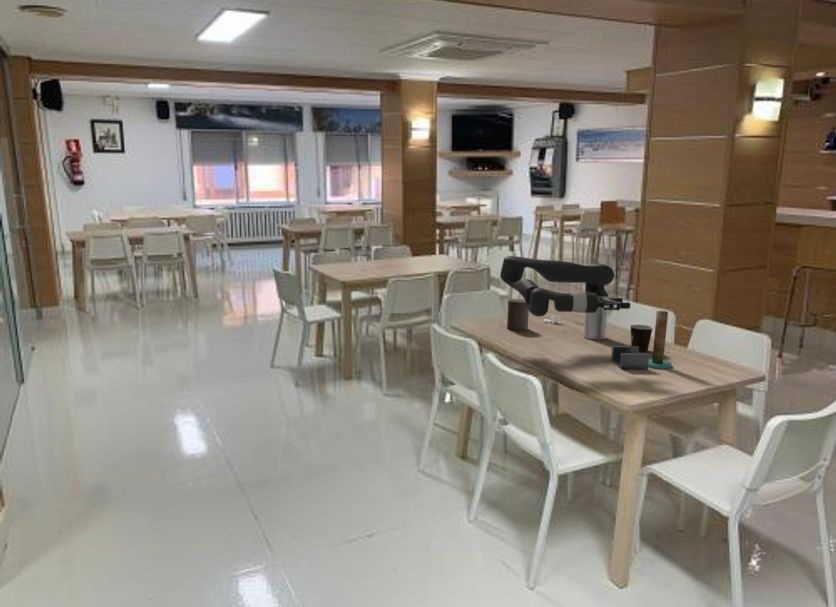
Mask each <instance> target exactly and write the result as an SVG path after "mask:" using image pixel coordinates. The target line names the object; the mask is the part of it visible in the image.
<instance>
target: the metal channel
mask: <svg viewBox="0 0 836 607" xmlns="http://www.w3.org/2000/svg"><path fill="white" fill-rule="evenodd" d="M649 359H650V354H649V353H640V352H639V347H638V346H631V345H612V346H611V356H610V361H611V362H612V363H613V364H614V365H615V366H616V367H618V369H620V370H621V371H622V370H623V371H625V370H627V371H628V370H629V371H632V370H634V371H638V370H639V371H647V370H649V367H648V361H649Z"/></svg>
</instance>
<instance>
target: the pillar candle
mask: <svg viewBox="0 0 836 607" xmlns="http://www.w3.org/2000/svg"><path fill="white" fill-rule="evenodd" d="M529 313H530V311H529V310H528V308H527V305H526V302H525V299H524V298H519V297H516V298H509V299H508V303H507V319H506V320H507V321H506V322H507V324H506V325H507V326H506V328H507V330H509V331H513V332H514V331H515V332H524V331H528V328H529Z"/></svg>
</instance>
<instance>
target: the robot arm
mask: <svg viewBox="0 0 836 607" xmlns="http://www.w3.org/2000/svg"><path fill="white" fill-rule="evenodd" d="M525 268H529V269H532V270H534V271H535V272H537V273H538V274H539V275H540V276H541V277H542V278H543V279H544V280H546V281H548V282H550V283H561V284H562V283H565V284H566V283H567V284H569V283H571V284H573V283H585V289H584V292H571V293H570V292H569V293H568V292H567V293H566V292H558V291H554V290H550V289H546V288H543V287H539V286H538V285H537V283H536V282H534V281H533V280H532V279H529V278H523V276H524V272H525ZM499 276H500V279H501V281H503V283H505V284H506V285H508V286H509V287H510V288H512V289H513V290H515V291H517V292H518V293H519V294H520V296H521V297H522V299H525V302H526V305H527V308H528V310H529V313H530V314H532V315H533V316H535V317H540V318H541V317H544V316H545V315H546V314H548V311H549V306H550V301H553V305H554V309H555V310H556V312H558V313H559V312H560V313H571V312H572V313H578V314H579V313H580V314H582V313H583V314H585V318H584V329H583V337H584V338H585V339H588V340H593V339H595V340H597V341H598V340H599V341H600V340H601V339H602V340H605V339H606V331H607V321H608V320H607V318H608V311H620V310H621V309H626V310H627V309H631V302H627V301H626V302H624V301H623V298H622V297H612V296H609V293H608V292H607V290H606V289H605V286H607V285H609V284H611V283H612V282H613V281H614V278H615V271H614V270H613V268H612V267H611V266H610V265H607V264H603V263H599V262H594V263H591V264H589V265H584V264H580V263H576V262H571V261H565V260H553V259H552V260H551V259H549V260H548V259H536V258H529V257H523V256H517V255H509V256H505V257H504V258H503V261H502V266H501V269H500V275H499Z"/></svg>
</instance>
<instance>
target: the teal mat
mask: <svg viewBox="0 0 836 607" xmlns="http://www.w3.org/2000/svg"><path fill="white" fill-rule="evenodd" d="M672 365H673V364H672V363H671V362H669V361H667V360H664V359H663V364H654V363H652V358H649V361H648V368H651V369H656V370H669V369H671V368H672Z"/></svg>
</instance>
